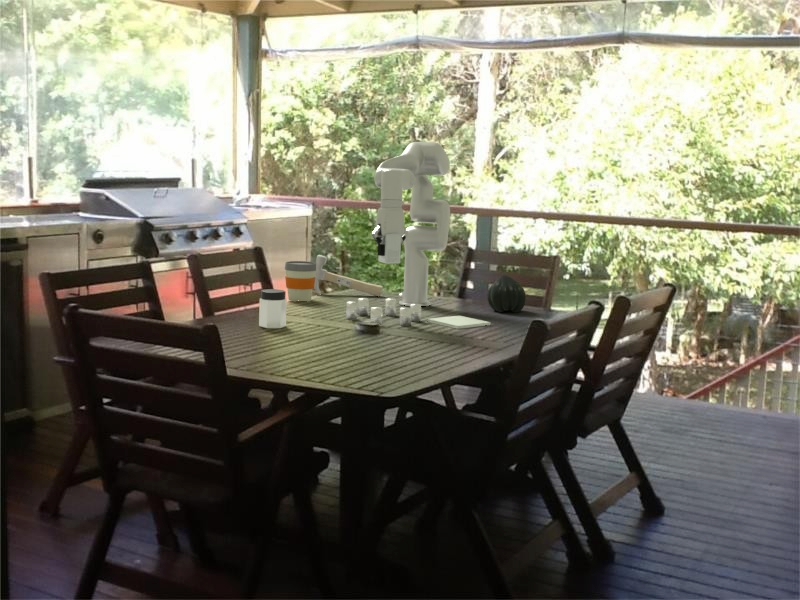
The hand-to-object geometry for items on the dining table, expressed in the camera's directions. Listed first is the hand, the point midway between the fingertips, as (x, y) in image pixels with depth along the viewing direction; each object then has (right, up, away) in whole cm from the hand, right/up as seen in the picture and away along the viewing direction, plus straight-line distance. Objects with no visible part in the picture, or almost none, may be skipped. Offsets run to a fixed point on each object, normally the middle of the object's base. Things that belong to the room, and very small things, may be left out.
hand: (389, 254), depth 321 cm
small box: (0, -3, 0) cm, 3 cm away
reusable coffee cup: (-36, -16, +42) cm, 58 cm away
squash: (+45, -21, +35) cm, 61 cm away
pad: (+25, -24, +3) cm, 35 cm away
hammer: (-19, -14, +61) cm, 66 cm away
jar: (-39, -25, -18) cm, 50 cm away
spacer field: (-2, -23, +3) cm, 23 cm away
